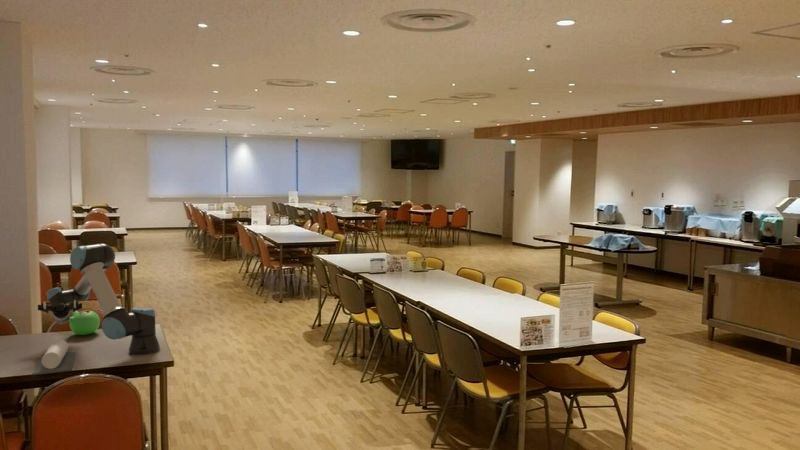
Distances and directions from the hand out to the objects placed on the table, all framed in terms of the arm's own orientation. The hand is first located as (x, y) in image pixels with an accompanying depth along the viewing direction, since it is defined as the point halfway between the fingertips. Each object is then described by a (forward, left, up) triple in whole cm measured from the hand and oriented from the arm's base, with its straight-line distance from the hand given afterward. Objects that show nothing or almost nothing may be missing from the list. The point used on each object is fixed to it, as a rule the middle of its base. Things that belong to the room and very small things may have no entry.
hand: (59, 303), depth 314 cm
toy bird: (+31, -35, -29) cm, 55 cm away
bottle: (-14, +15, -24) cm, 31 cm away
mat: (-5, +7, -29) cm, 30 cm away
